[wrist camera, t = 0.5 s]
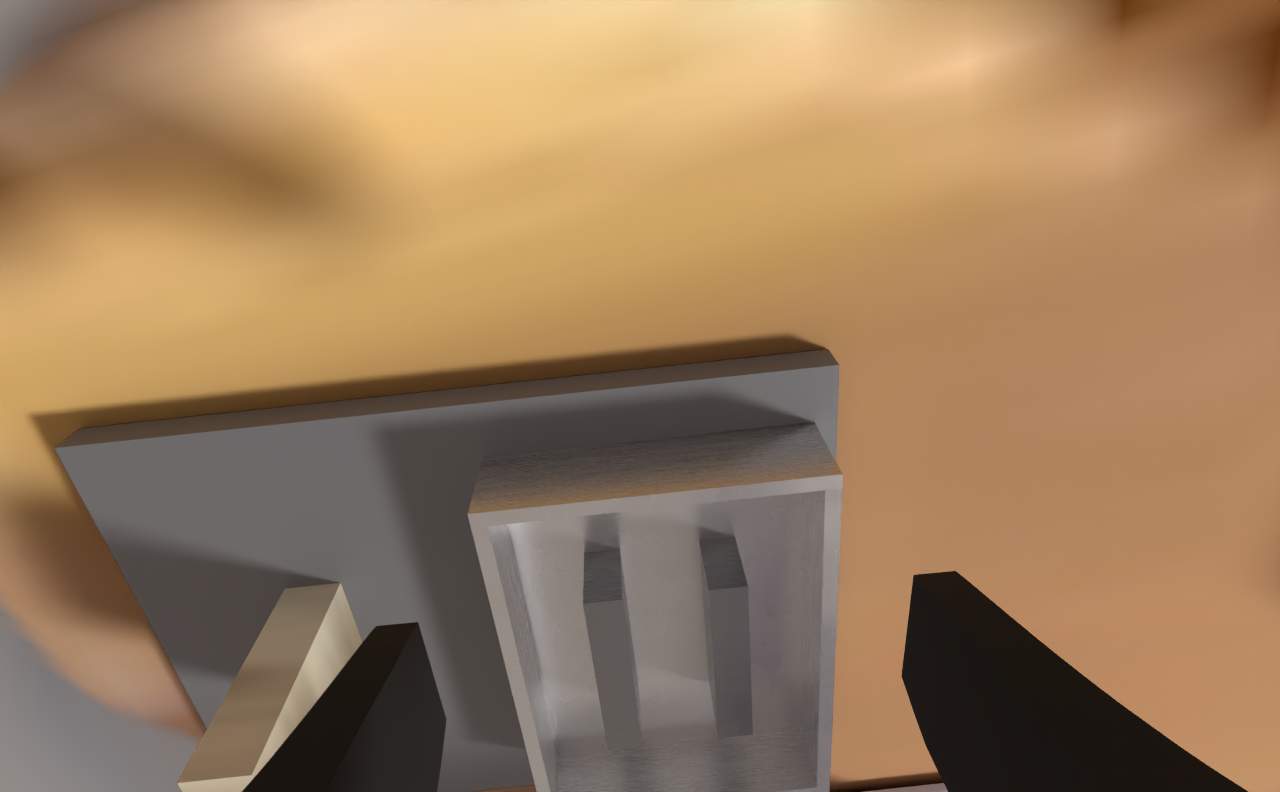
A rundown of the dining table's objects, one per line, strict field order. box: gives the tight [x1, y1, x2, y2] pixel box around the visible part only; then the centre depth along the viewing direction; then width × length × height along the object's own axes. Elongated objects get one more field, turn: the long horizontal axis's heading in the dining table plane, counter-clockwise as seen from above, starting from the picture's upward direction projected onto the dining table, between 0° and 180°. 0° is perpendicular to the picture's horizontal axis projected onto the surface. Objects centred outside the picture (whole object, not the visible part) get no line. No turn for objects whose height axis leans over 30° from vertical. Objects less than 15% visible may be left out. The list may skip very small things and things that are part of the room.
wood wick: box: [177, 583, 362, 792], centre depth 19 cm, size 4×2×6 cm, turn 6°
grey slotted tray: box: [468, 422, 843, 792], centre depth 21 cm, size 12×9×2 cm
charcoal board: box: [54, 349, 839, 792], centre depth 22 cm, size 15×20×1 cm
